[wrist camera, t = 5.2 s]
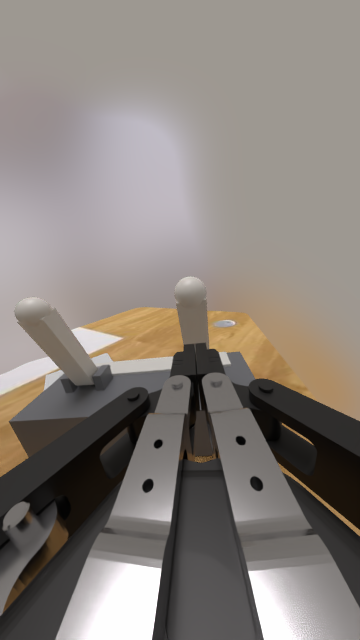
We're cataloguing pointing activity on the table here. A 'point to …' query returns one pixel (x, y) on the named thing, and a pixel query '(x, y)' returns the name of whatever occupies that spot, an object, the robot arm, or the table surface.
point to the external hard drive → (54, 376)
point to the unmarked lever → (55, 339)
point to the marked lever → (192, 310)
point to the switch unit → (108, 399)
